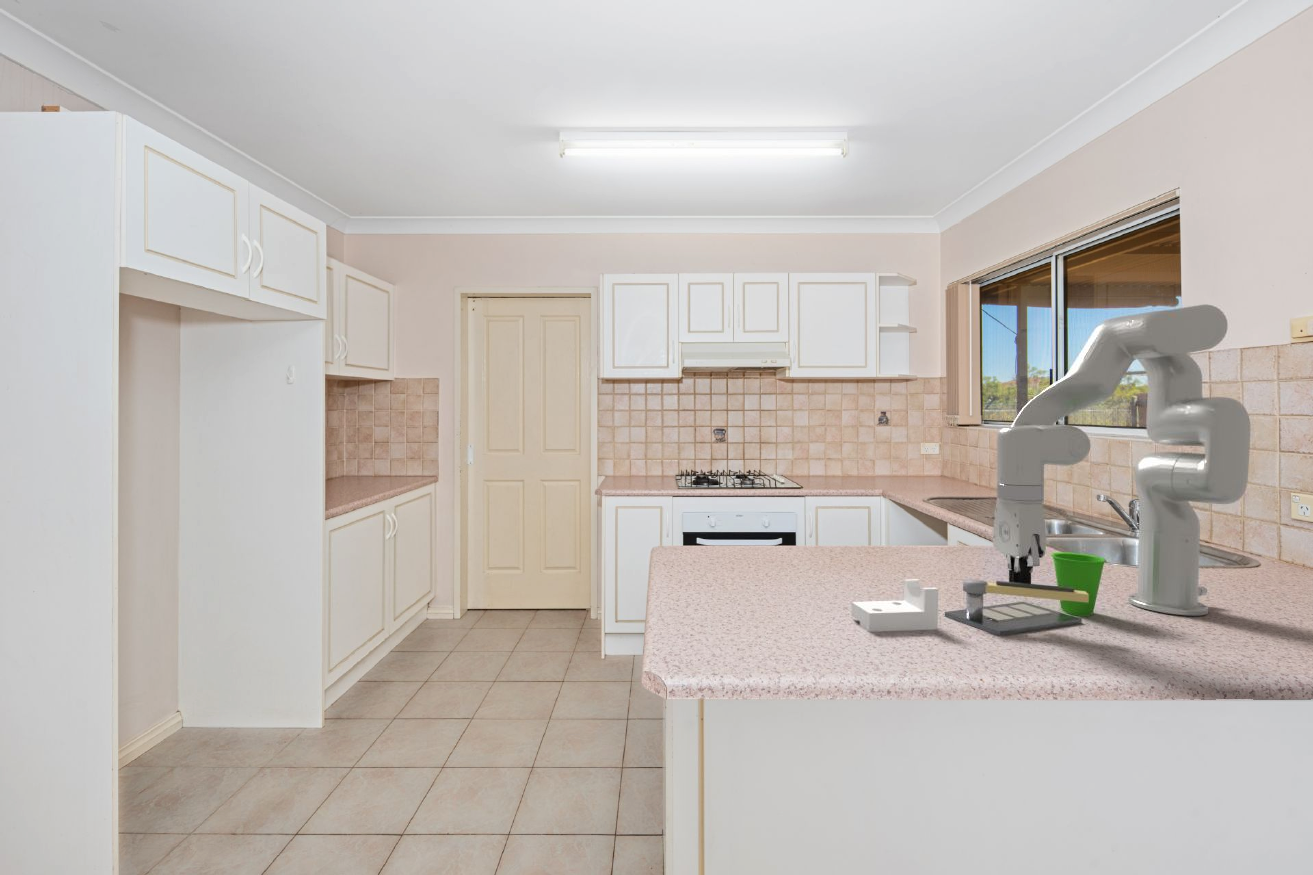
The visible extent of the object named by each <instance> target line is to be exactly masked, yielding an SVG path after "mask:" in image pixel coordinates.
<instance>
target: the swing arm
mask: <svg viewBox="0 0 1313 875" xmlns="http://www.w3.org/2000/svg"><path fill="white" fill-rule="evenodd" d="M962 591H963V592H965V593H967V592H968V593H973V594H983V595H986V594H995V595H1006V596H1015V597H1016V596H1017V597H1028V598H1036V599H1037V598H1038V599H1046V600H1048V599H1049V600H1057V601H1060V600H1066V601H1077V602H1087V603H1089V594H1088V593H1086V592H1085V591H1077V590H1074V588H1072V587H1060V586H1058V585H1048V584H1038V583H1037V584H1036V583H1031V584H1027V583H1016V582H1009V581H1004V580H996V581H995V582H989V581H988V582H987V581H985V580H982V579H977V578H965V579H962Z"/></svg>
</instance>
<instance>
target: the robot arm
mask: <svg viewBox="0 0 1313 875" xmlns="http://www.w3.org/2000/svg"><path fill="white" fill-rule="evenodd" d="M1228 325H1229V324H1228V320H1227V317H1226V315H1225V313H1224V312H1223V311H1222V310H1221V309H1220V308H1218V307H1217V306H1214V305H1212V304H1197V305H1192V306H1185V307H1178V308H1174V309H1163V310H1155V311H1154V310H1153V311H1148V312H1144V313H1143V312H1141V313H1136V314H1128V315H1123V316H1117V317H1113V318H1109V319H1106V320H1103V321H1102V322H1101V323H1099V324H1098V325H1097V326H1096V327H1095V328H1094V329H1093V330H1092V332H1091V334H1090V335H1089V337H1088V339H1087V340H1086V342H1085V344H1084V345H1083V347H1082V349H1081V351H1080V352H1079V354H1078V355H1077V357H1076V359H1075V360H1074V362H1073V363H1072V364H1071V366H1070V368H1069V369H1068V371H1067V372H1066V374H1065V375H1064V376H1062V378H1060V379H1059V380H1057V381H1055V382H1054V383H1052V384H1050V385H1049V386H1047V388H1045V389H1044V390H1042V391H1041V392H1040V393H1038V394H1037V395H1036V396H1034V397H1033V398H1032V399H1031V400H1029V401H1028V402H1027V403H1026V404H1025V405H1024V406H1023V407H1022V409H1021V410H1020V411H1019V413H1018V414H1017V416H1016V418H1015V419H1014V421H1013V423H1012V424H1011V426H1007V427H1002V428H1000V429H999V430H998V432H997V434H996V502H995V503H996V504H995V508H994V518H993V530H992V532H993V533H992V535H993V536H992V546H993V548H994V549H995V550H997V551H999V552H1000V553H1001V554H1002V555H1003V556H1004V557H1005V558H1006V561H1007V562H1006V563H1007V564H1006V565H1007V566H1006V567H1007V569H1008V582H1016V583H1027V584H1032V573H1033V571H1034V567H1040V566H1041V565H1040V564H1041V561H1040V559H1042V558H1043V557H1045V555H1046V549H1047V548H1046V546H1047V544H1046V543H1047V533H1046V521H1045V520H1046V519H1045V510H1044V505H1043V504H1044V503H1045V466H1046V465H1047V466H1060V467H1061V466H1062V467H1063V466H1064V467H1065V466H1066V467H1067V466H1073V465H1077V464H1079V463H1081V462H1082V461H1083V460H1085V459H1086V458H1087V457H1088V455H1089V453H1090V451H1091V440H1090V438H1089V436H1088V435H1087V433H1086V432H1084V431H1083V430H1082V429H1081V428H1079V427H1076V426H1073V425H1065V424H1055V423H1057V422H1058V421H1060V420H1061V419H1063V418H1065V417H1067V416H1069V415H1072V414H1073V413H1077V412H1079V411H1081V410H1082V411H1083V410H1085V409H1087V408H1091V407H1093V406H1096V405H1098V404H1100V403H1102V402H1105V401H1106V400H1108V399H1110V398H1111V397H1112V396H1113V395H1114V393H1115V392H1116V390H1117V389H1118V387H1119V385H1120V384H1121V381H1123V378H1124V377H1125V375H1126V373H1127V371H1128V370H1129V369H1130V367H1131V365H1132V364H1133V363H1134V362H1135V361H1136V360H1137V361H1139V363H1140V365H1141V366H1142V367H1143V369H1144V371H1145V374H1146V378H1147V396H1146V397H1147V399H1146V400H1147V402H1146V423H1145V424H1146V432H1147V433H1146V434H1147V436H1148V438H1149V439H1150V440H1151V441H1152V442H1154V443H1157V444H1160V445H1165V446H1167V445H1168V446H1183V447H1204V453H1193V452H1182V451H1181V452H1180V451H1179V452H1178V451H1177V452H1176V451H1158V452H1157V451H1156V452H1153V453H1150V454H1146V455H1144V456H1143V457H1141V458H1140V459H1139V460H1138V461H1137V462H1136V464H1135V466H1134V471H1133V475H1134V482H1135V487H1136V493H1137V496H1138V508H1139V510H1138V511H1139V513H1138V514H1139V520H1138V522H1139V528H1138V560H1137V561H1138V563H1137V565H1138V566H1137V567H1138V568H1137V593H1132V594H1131V593H1130V594H1129V595H1128V597H1127V598H1128V599H1127V601H1128V603H1130V604H1131V605H1132V606H1135V607H1138V608H1141V609H1144V610H1149V611H1153V612H1157V613H1162V614H1170V615H1177V616H1178V615H1179V616H1190V617H1191V616H1193V617H1195V616H1204V615H1207V614H1208V613H1209V607H1208V606H1207V605H1206V604H1204V603H1202V602H1199V597H1201V596H1206V595H1207V594H1208V590H1207V588H1206V587H1205V586H1203V585H1199V576H1200V575H1199V574H1200V570H1199V569H1200V539H1201V538H1200V535H1201V524H1200V520H1199V517H1198V515H1197V512H1195V509H1194V508H1193V506H1192V505H1191V504H1190V502H1194V503H1202V504H1213V505H1229V504H1231V505H1232V504H1234V503H1236V502H1238V501H1239V500H1240V499H1241V498H1243V496H1244V495H1245V492H1246V489H1247V486H1248V479H1249V467H1250V466H1249V465H1250V464H1249V463H1250V449H1251V448H1250V446H1251V421H1250V417H1249V416H1250V415H1249V413H1248V411H1247V408H1246V407H1245V406H1244V405H1243V403H1241V402H1240V401H1238V400H1237V399H1235V398H1231V397H1226V396H1225V397H1223V396H1216V397H1215V396H1213V397H1210V396H1209V397H1203V374H1202V370H1201V368H1200V366H1199V365H1198V363H1197V362H1196V360H1195V359H1193V357H1191V355H1190V353H1191V354H1192V353H1195V352H1201V351H1207V350H1211V349H1213V348H1214V347H1216V346H1218V345H1219V344H1220V343H1221V342H1222V341H1223V340H1224V339H1225V337H1226V334H1227V332H1228V329H1229V328H1228Z"/></svg>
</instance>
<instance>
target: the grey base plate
mask: <svg viewBox="0 0 1313 875" xmlns="http://www.w3.org/2000/svg"><path fill="white" fill-rule="evenodd" d="M965 593H966V601H965V604H966V605H965V606H966V607H965V608H964V609H959V610H958V609H957V610H950V611H949V610H948V611H944V617H946V618H949V619H952V620H954V621H957V622H960V623H962V624H966V625H969V626H970V627H974V628H977V629H979V630H982V631H985V632H987V633H990V634H992V635H996V636H998V637H999V636H1000V637H1002V636H1008V635H1009V636H1010V635H1015V634H1021V633H1027V632H1033V631H1034V632H1035V631H1039V630H1041V631H1042V630H1046V629H1052V628H1053V629H1054V628H1059V627H1065V626H1071V625H1078V624H1082V620H1083V619H1082V618H1081V617H1077V616H1075V615H1071V614H1068V613H1065V612H1060V611H1056V610H1053V609H1050V608H1046V607H1043V606H1039V605H1036V604H1032V603H1029V602H1026V601H1018V602H1011V603H1004V604H1003V603H1002V604H995V605H987V606H984V594H973V593H968V592H965Z"/></svg>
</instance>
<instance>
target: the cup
mask: <svg viewBox="0 0 1313 875" xmlns="http://www.w3.org/2000/svg"><path fill="white" fill-rule="evenodd" d="M1050 556H1051V557H1052V558H1053V566H1054V571H1055V577H1056V586H1060V587H1072V588H1074V590H1077V591H1085V592H1086V593H1088V594H1089V603H1087V602H1077V601H1066V600H1059V603H1060V608H1061V610H1062V613H1064V614H1067V615H1071V616H1081V617H1089V616H1092V615H1093V613H1094V610H1095V606H1096V602H1097V596H1098V592H1099V587H1100V582H1101V578H1102V575H1103V569H1104V564H1105V563H1107V559H1106V558H1104V557H1101V556H1098V555H1094V554H1087V553H1081V552H1079V553H1078V552H1065V551H1063V552H1062V551H1061V552H1060V551H1059V552H1058V551H1057V552H1053V553H1051V554H1050Z"/></svg>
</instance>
